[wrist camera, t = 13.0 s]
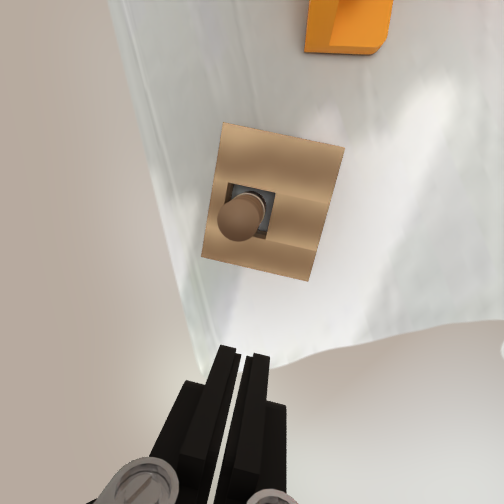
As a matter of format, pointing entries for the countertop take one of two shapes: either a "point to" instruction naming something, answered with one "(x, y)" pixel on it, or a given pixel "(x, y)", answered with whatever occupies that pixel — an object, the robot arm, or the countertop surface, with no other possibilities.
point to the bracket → (347, 26)
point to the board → (285, 203)
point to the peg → (241, 216)
